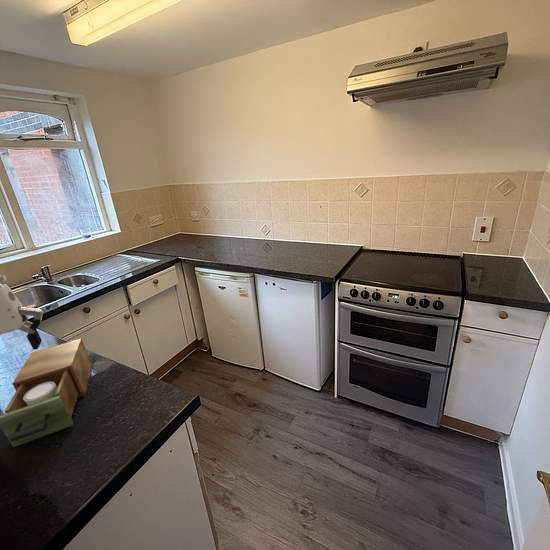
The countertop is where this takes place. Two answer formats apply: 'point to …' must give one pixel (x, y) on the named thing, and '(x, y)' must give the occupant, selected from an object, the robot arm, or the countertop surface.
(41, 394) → the white short cylinder
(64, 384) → the drawer
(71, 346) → the cabinet
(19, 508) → the countertop surface
